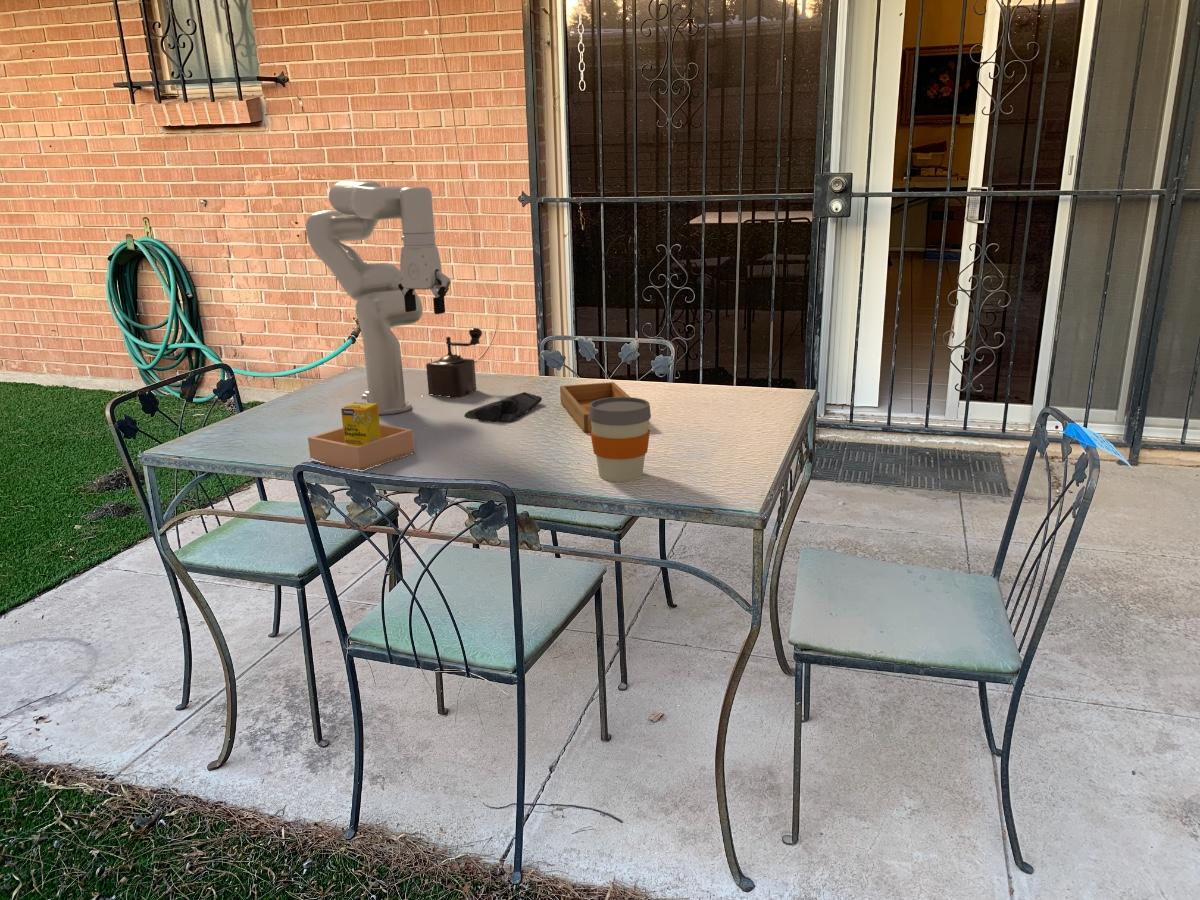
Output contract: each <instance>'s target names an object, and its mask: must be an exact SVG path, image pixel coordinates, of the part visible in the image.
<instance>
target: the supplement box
mask: <svg viewBox="0 0 1200 900" xmlns="http://www.w3.org/2000/svg"><path fill="white" fill-rule="evenodd" d="M340 410H341V412H340V413H341V419H342V420H341V421H342V427H343V432H344V441H345V443H346V444H351V445H356V446H359V445H362V444H365V443H368V442H372V441H375V440H378V439H381V433H380V424H381V423H380V422H381V421H380V415H379V412H378V404H377V403H367V402H355V401H353V402H352V403H350V404H347V405H345V406H343V407H341V408H340Z"/></svg>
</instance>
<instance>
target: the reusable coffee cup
mask: <svg viewBox="0 0 1200 900" xmlns="http://www.w3.org/2000/svg"><path fill="white" fill-rule="evenodd" d="M651 414H652V413H651V405H650V402H649V401H648V400H646V399H643V398H638V397H632V396H630V397H611V398H604V399H599V400H596V401H593V402H591V403H590V411H589V419H590V420H591V425H592V430H591V433H590V437H591V442H592V443H591V444H592V450H593V453H594V455H595V457H596V463H597V464H596V465H597V469H598V476H599V477H600V479H602V480H605V481H608V482H612V483H613V482H615V483H624V482H633V481H636V480H638V479H639V480H640V478H642V477H643V474H644V465H645V459H646V458H645V457H646V454H647V453H648V452H649V451H648V449H649V443H650V442H649V441H650V434H651V431H650V428H649V424H650V420H651V418H652V415H651Z"/></svg>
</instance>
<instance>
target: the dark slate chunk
mask: <svg viewBox="0 0 1200 900" xmlns="http://www.w3.org/2000/svg"><path fill="white" fill-rule="evenodd" d="M542 400H543V398H542V397H541V396H540V395H535V394H532V393H528V392H526V391H525V392H520V393H516V394H514V395H509V396H507V397H505V398H503V399H500V400H496V401H494V402H490V403H488V404H484V405H481V406H479V407H476V408H474V409H471V410H468V411H467V412H465V414H464V415H463V416H464V417H465V419H467V418H468V419H469V418H470V419H471V420H477V419H478V420H477V421H480V420H481V422H489V421H490V422H491V423H495V422H496V423H511V422H514V421H515V420H516V418H517V419H519V418H521V417H523V416H525V415H526V414H527V413H528V412H529V410H530V411H532V410H533V409H535V408H536V406H537V405H538V404H540V403H541V402H542ZM532 408H533V409H532ZM527 411H528V412H527ZM524 414H525V415H524ZM522 415H523V416H522ZM518 417H519V418H518ZM470 419H469V420H470ZM490 422H489V423H490Z"/></svg>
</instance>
